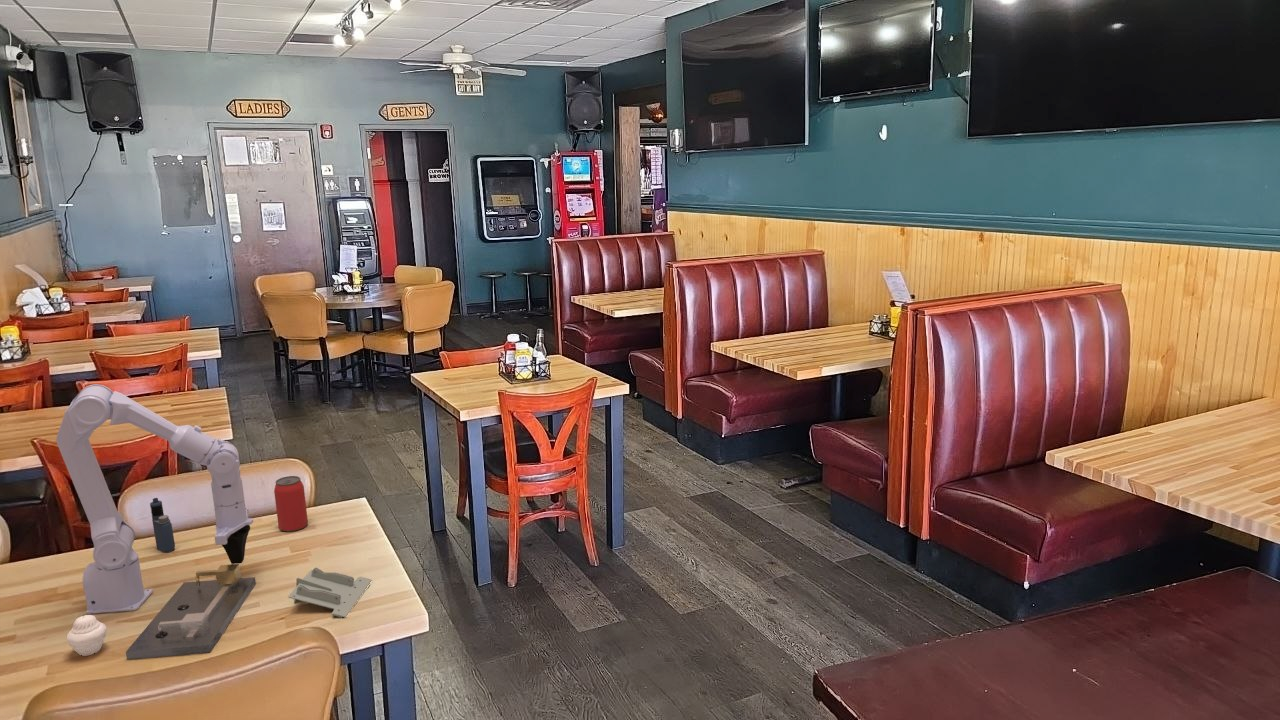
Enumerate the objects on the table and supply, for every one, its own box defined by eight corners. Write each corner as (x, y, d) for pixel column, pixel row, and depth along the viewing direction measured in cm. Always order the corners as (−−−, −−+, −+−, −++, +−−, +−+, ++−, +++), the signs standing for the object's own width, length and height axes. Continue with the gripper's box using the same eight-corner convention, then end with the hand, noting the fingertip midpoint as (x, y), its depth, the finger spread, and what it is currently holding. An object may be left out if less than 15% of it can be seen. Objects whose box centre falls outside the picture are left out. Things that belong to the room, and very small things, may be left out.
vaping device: (166, 544, 197) (158, 495, 195) (177, 549, 194) (169, 500, 192) (154, 548, 195) (146, 499, 193) (165, 554, 192) (158, 504, 190)
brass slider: (194, 589, 171) (191, 573, 171) (199, 582, 174) (197, 566, 174) (236, 586, 172) (234, 570, 172) (241, 579, 175) (239, 563, 175)
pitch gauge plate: (126, 659, 151) (123, 636, 150) (185, 589, 176) (181, 569, 175) (210, 652, 152) (206, 629, 151) (255, 583, 177) (253, 563, 176)
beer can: (273, 531, 203) (267, 484, 200) (288, 520, 209) (283, 474, 207) (298, 533, 202) (293, 485, 199) (313, 521, 208) (308, 475, 205)
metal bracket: (280, 592, 162) (312, 556, 177) (275, 619, 164) (307, 581, 178) (354, 611, 163) (379, 574, 177) (348, 637, 164) (374, 598, 179)
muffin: (61, 657, 152) (54, 621, 150) (93, 639, 158) (87, 605, 156) (86, 663, 150) (79, 627, 148) (118, 645, 155) (111, 610, 154)
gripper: (237, 513, 169) (246, 576, 172) (260, 487, 183) (267, 545, 186) (200, 516, 168) (209, 579, 171) (225, 489, 182) (233, 548, 185)
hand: (237, 562), depth 179 cm, fingers closed
